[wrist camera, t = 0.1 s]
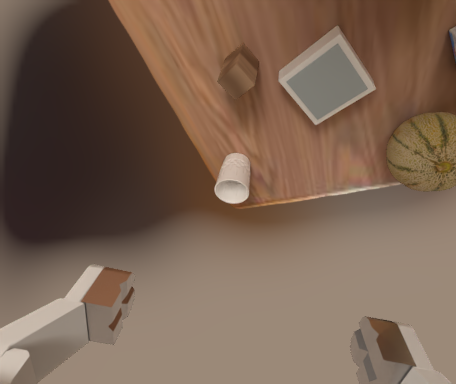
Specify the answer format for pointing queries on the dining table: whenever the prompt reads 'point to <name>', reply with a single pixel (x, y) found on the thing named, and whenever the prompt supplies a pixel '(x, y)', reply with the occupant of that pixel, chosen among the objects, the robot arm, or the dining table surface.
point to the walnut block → (239, 72)
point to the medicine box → (453, 40)
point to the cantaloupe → (424, 152)
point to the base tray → (326, 77)
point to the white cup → (234, 179)
